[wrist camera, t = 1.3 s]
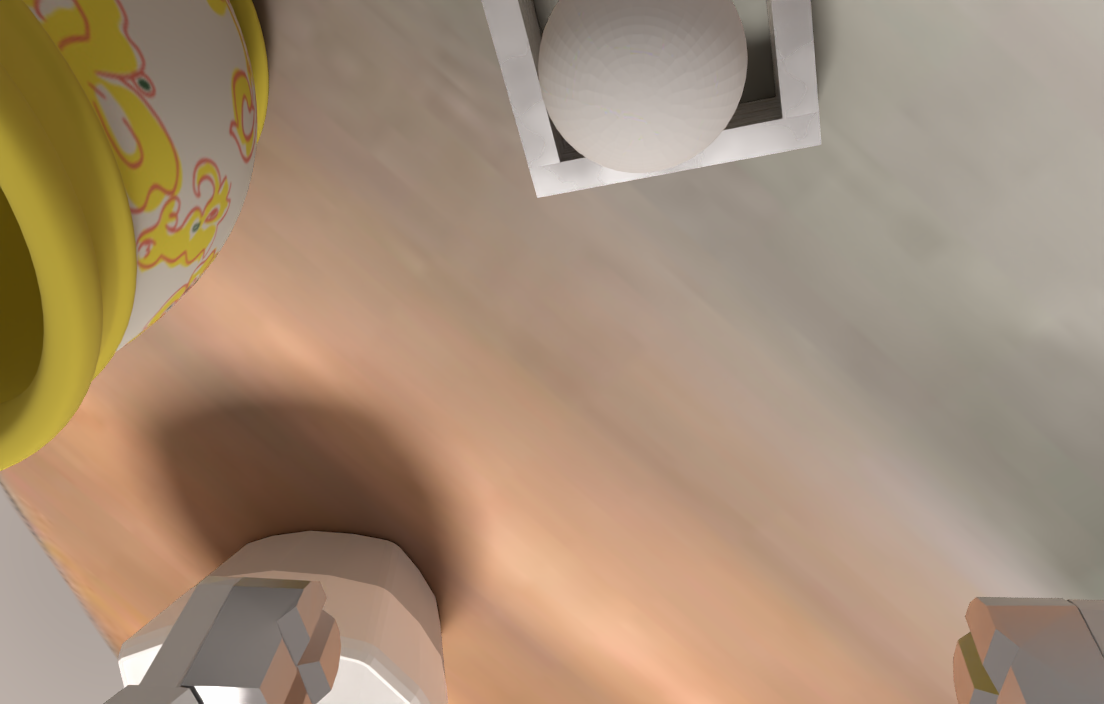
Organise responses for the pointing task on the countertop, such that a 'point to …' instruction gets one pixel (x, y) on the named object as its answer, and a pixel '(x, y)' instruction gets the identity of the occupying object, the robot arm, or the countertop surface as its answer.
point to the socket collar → (745, 136)
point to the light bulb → (642, 78)
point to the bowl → (339, 615)
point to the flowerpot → (112, 182)
